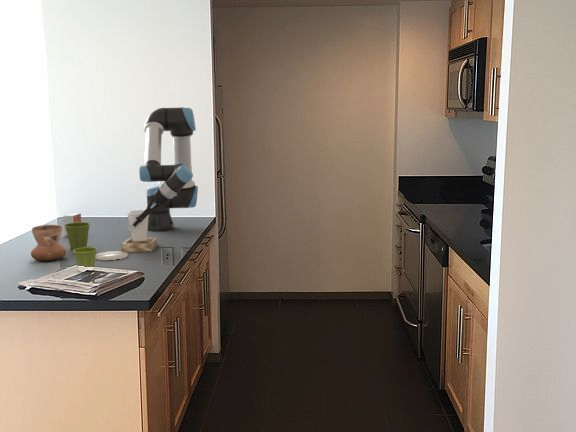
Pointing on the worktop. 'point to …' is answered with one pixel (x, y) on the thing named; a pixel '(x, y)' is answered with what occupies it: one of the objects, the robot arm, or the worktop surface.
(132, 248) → the holder
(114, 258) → the disc
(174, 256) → the worktop surface
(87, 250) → the plant pot
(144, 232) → the foam cup
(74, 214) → the small box
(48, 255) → the ceramic jug
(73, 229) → the plant pot
